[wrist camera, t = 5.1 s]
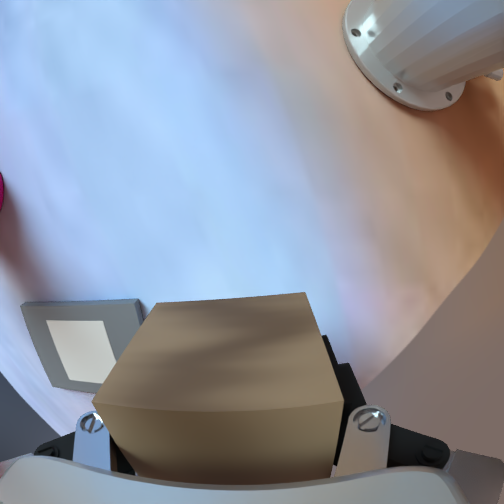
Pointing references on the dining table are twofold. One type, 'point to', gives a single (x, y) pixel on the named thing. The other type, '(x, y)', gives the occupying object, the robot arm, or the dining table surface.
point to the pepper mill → (1, 191)
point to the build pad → (81, 338)
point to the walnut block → (225, 393)
